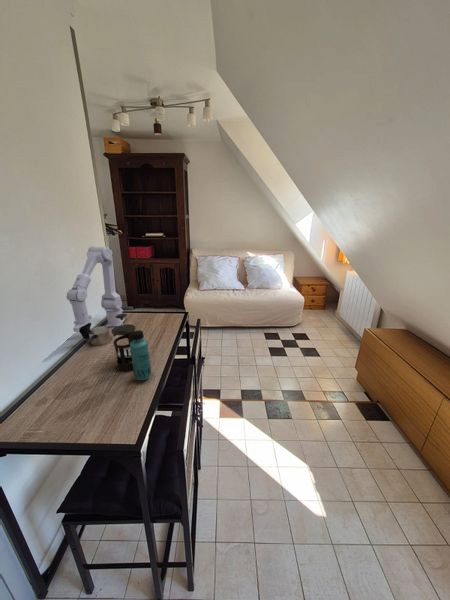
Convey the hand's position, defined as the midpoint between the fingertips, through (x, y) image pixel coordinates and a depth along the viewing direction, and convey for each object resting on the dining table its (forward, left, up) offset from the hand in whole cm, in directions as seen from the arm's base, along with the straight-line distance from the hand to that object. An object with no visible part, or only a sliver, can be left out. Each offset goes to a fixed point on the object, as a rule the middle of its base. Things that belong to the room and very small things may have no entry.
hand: (86, 338), depth 124 cm
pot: (0, +7, -2) cm, 7 cm away
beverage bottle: (+32, +35, -2) cm, 47 cm away
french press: (+22, +27, -2) cm, 35 cm away
